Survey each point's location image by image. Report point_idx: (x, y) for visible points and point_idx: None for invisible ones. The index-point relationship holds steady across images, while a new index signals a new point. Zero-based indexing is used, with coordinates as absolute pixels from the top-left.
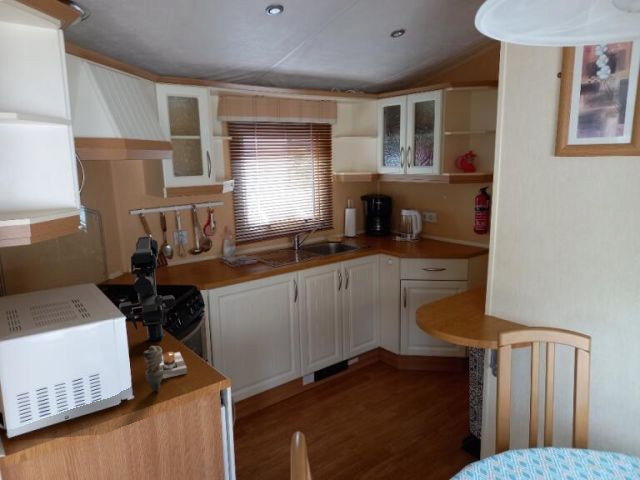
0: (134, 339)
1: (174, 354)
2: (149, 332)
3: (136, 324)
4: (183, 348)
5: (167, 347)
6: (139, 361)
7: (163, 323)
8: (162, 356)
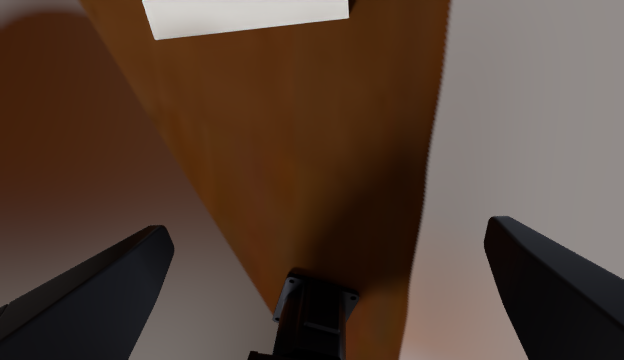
0: (401, 324)
1: (183, 5)
2: (336, 321)
3: (546, 265)
4: (173, 148)
5: (258, 194)
6: (417, 80)
7: (145, 233)
8: (267, 8)
